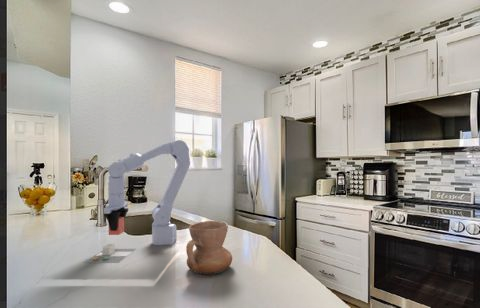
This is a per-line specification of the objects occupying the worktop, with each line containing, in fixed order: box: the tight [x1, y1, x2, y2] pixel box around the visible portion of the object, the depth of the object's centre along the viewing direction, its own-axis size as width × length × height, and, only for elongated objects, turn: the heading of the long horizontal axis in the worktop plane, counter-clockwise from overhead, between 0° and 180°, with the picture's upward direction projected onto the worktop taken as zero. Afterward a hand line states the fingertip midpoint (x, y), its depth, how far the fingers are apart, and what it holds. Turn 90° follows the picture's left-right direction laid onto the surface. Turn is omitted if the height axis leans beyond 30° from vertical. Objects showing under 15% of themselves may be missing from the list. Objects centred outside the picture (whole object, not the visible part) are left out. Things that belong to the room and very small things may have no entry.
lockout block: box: [108, 217, 125, 236], centre depth 104 cm, size 4×4×6 cm
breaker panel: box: [82, 248, 137, 264], centre depth 96 cm, size 12×14×2 cm
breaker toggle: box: [102, 243, 116, 255], centre depth 97 cm, size 2×4×3 cm, turn 178°
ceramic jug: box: [185, 220, 233, 275], centre depth 86 cm, size 18×14×14 cm
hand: (116, 228), depth 104 cm, fingers closed on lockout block, 4 cm apart
